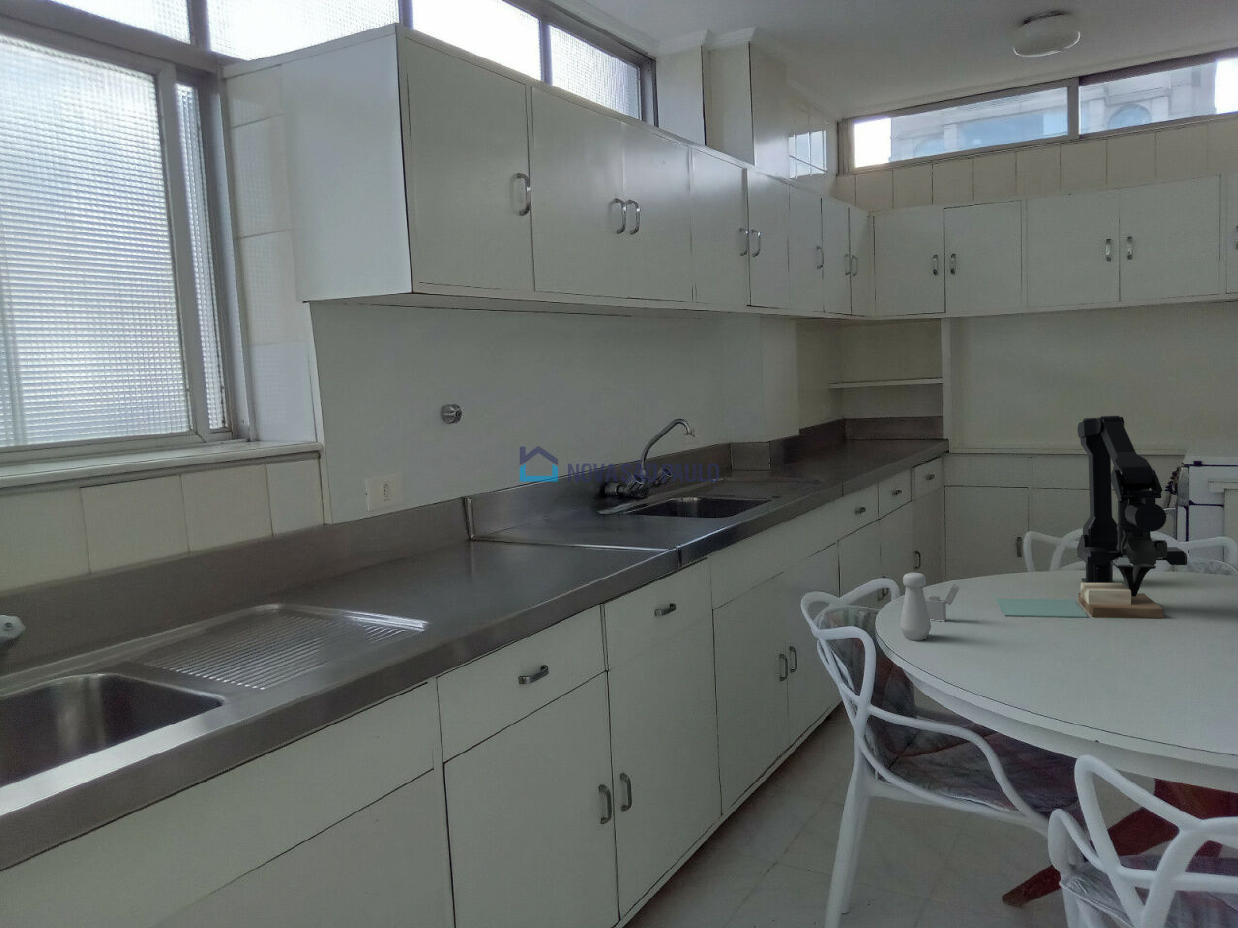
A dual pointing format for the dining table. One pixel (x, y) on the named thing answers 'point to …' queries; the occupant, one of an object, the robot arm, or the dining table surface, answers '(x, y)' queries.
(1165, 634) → the dining table surface
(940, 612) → the lighter
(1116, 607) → the walnut board
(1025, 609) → the rubber mat
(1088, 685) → the dining table surface
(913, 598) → the salt shaker
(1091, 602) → the birch tile
